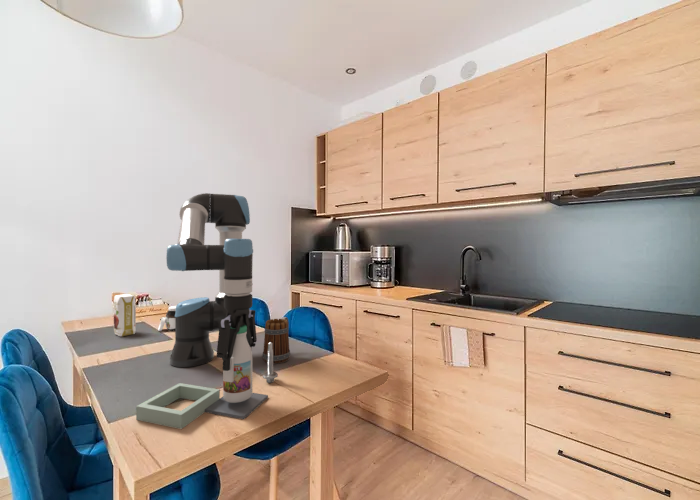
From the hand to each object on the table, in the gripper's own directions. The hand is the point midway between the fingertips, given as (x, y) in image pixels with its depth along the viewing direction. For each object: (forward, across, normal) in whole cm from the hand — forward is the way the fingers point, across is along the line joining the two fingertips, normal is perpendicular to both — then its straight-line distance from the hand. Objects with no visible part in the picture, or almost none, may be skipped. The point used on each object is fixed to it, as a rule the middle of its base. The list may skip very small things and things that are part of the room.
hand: (237, 374), depth 89 cm
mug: (+9, +37, +7) cm, 39 cm away
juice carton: (+9, +42, +93) cm, 102 cm away
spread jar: (+9, +55, +78) cm, 96 cm away
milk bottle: (+6, 0, 0) cm, 6 cm away
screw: (+9, +16, -1) cm, 18 cm away
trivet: (+8, 0, 0) cm, 8 cm away
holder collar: (+8, -7, +13) cm, 17 cm away
